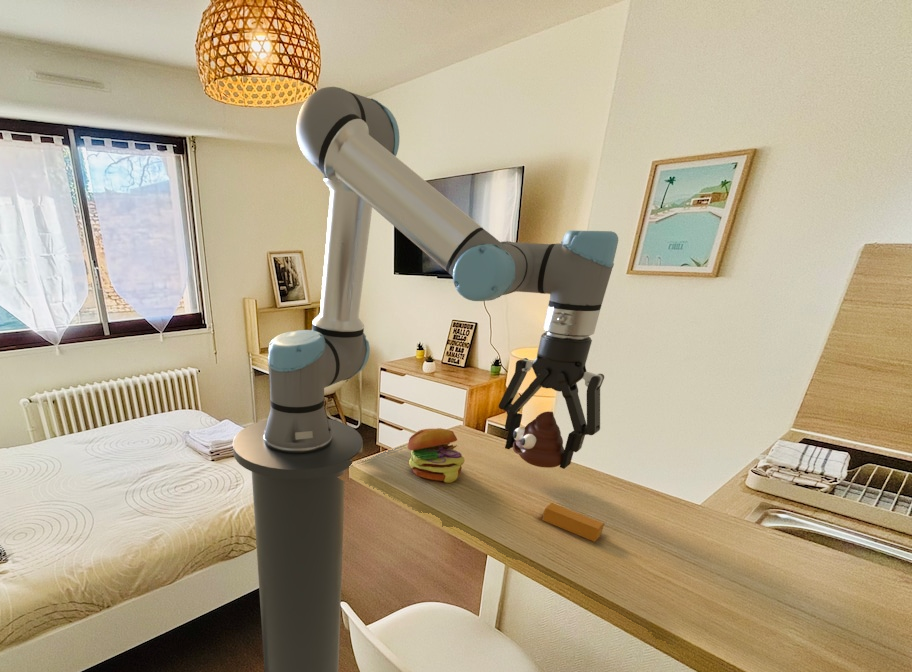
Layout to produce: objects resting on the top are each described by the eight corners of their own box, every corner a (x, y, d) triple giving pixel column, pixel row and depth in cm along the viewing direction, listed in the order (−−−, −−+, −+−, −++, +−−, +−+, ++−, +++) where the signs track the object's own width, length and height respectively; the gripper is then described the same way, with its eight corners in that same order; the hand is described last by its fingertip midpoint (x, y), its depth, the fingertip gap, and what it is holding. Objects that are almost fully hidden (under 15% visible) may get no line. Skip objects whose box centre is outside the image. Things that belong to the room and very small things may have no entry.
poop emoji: (573, 469, 82) (587, 420, 78) (527, 470, 82) (539, 421, 77) (543, 444, 91) (554, 399, 87) (501, 446, 91) (510, 400, 86)
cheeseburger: (431, 490, 85) (428, 436, 82) (398, 477, 94) (394, 429, 92) (474, 478, 88) (472, 426, 86) (438, 467, 98) (436, 420, 96)
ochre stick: (541, 520, 76) (545, 507, 75) (548, 514, 78) (551, 502, 77) (594, 542, 71) (598, 529, 70) (600, 535, 72) (604, 523, 71)
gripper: (492, 326, 81) (471, 442, 91) (636, 350, 67) (592, 485, 77) (513, 321, 86) (491, 432, 96) (651, 343, 71) (609, 471, 81)
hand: (536, 455), depth 86 cm, fingers closed on poop emoji, 9 cm apart
